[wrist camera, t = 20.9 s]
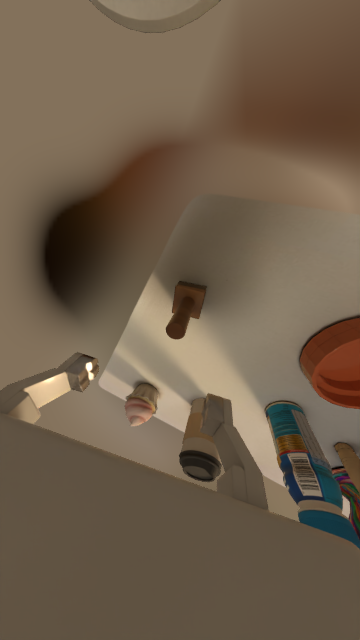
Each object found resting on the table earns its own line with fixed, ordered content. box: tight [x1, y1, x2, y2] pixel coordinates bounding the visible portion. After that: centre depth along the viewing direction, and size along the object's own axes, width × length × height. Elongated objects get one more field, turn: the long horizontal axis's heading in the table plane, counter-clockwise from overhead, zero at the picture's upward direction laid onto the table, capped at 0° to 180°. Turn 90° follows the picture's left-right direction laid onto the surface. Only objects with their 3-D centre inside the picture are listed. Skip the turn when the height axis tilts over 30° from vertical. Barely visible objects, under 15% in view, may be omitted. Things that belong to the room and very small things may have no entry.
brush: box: [166, 281, 207, 339], centre depth 24 cm, size 5×5×12 cm
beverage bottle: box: [265, 402, 360, 549], centre depth 30 cm, size 8×8×20 cm
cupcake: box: [125, 384, 158, 426], centre depth 42 cm, size 9×9×10 cm
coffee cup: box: [179, 398, 221, 482], centre depth 38 cm, size 9×9×15 cm
